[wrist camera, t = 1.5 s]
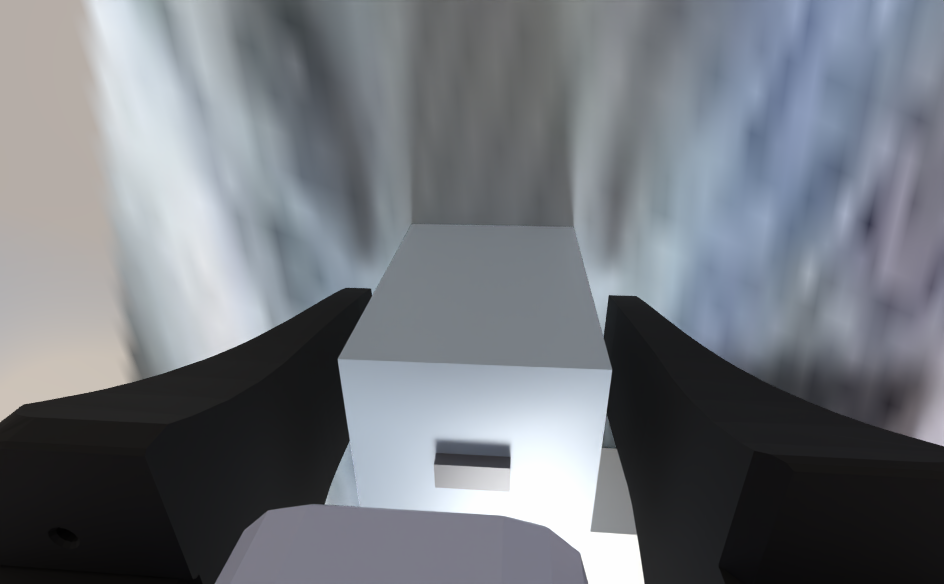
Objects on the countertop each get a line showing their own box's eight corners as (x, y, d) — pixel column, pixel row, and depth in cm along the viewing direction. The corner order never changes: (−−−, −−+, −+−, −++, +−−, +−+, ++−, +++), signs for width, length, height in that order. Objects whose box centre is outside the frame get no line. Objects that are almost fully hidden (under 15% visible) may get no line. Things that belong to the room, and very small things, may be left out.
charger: (420, 356, 15) (361, 553, 9) (411, 223, 13) (332, 369, 8) (562, 362, 15) (588, 569, 9) (573, 226, 13) (615, 380, 7)
